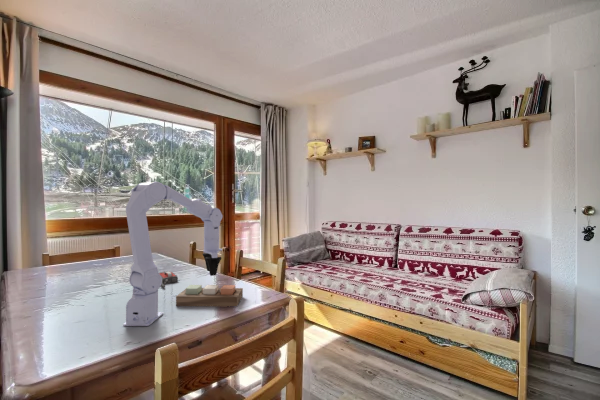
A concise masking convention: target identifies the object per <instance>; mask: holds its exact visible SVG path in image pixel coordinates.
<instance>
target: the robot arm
mask: <svg viewBox="0 0 600 400" xmlns="http://www.w3.org/2000/svg"><path fill="white" fill-rule="evenodd" d="M163 200H167V201H170V202H172V203H174V204H177V205H180V206H182V207H183V208H186V211H187V213H188V214H192V216H195V217H197V218H200V219H201V221H202V222H203V253H202V256H203V259H204V262H205V267H206V270H207V271H206V272H209V276H210V277H212V276H217V272H218V269H219V266H220V262H221V260H222V257H221V256H218V254H219V252H223V248H220V226H221V221H222V219H223V214H222V211H221V210H220V208H218V207H212V204H207V203H205V202H204V201H203V200H202V199H201V198H193V199H191V198H189V197H188V196H186V195H184V194H183V193H180V192H179V191H177V190H176V189H173V188H172V187H170V186H169V185H167V184H163V183H162V182H159V181H152V182H140V183H138V184H136V186H134V187H133V188H132V189H131V193H130V196H129V200H128V202H127V203H126V206H125V213H126V215H125V216H126V220H127V226H128V227H127V228H128V234H129V241H130V247H131V248H130V249H131V253H132V260H133V264H132V265H131V267H130V275H129V284H130V286H131V287H132V295H131V297H130V299H128V301H127V302H126V304H125V305H126V306H125V322H124V323H123V324H122V326H123V327H124V326H125V327H127V326H129V327H132V326H133V327H149V326H150V325H152V324H153V323H154V322H156V321H157V320H158V319H159V318H160V317H161V316H163V314H164V312H163V311H159V289H160V287H162V286H161V284H162V277H161V275H160V274H159V273H160V272H159V270H158V266H157V265H156V263H155V262H154V260H153V252H152V247H151V246H152V245H151V239H150V232H149V226H148V225H149V224H148V218H147V212H148V211H149V210H150V209H151V208H152V207H153V206H155V205H157V204H158V203H160V202H161V201H163Z"/></svg>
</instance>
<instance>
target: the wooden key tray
mask: <svg viewBox="0 0 600 400" xmlns="http://www.w3.org/2000/svg"><path fill="white" fill-rule="evenodd" d="M203 288H204V287H202V291H201V292H200V293H199V294H186V288H184V290H182V291H181V292H180V293H179V294H177V295H176V296H175V306H176V307H224V308H225V307H227V306H229V307H230V306H237V305H238V306H239V304H240V303H241V301H240V300H242V299H243V296H244V293H243V292H244V290H243V288H241V287H235V292H234V293H233V295H221V288H222V287H218V292H217V293H216V294H215V295H205V294H203ZM241 298H242V299H241ZM238 306H237V307H238Z"/></svg>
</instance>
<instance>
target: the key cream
mask: <svg viewBox="0 0 600 400" xmlns="http://www.w3.org/2000/svg"><path fill="white" fill-rule="evenodd" d="M202 288H203V294H205V295H215V294H216V293H217V292H218V288H219V285H218V284H207V285H205V286H204V287H202Z"/></svg>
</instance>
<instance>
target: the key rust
mask: <svg viewBox="0 0 600 400" xmlns="http://www.w3.org/2000/svg"><path fill="white" fill-rule="evenodd" d="M220 288H221V295H233V293H234V292H235V288H236V285H235V284H229V285H228V284H224V285H223V286H221V287H220Z"/></svg>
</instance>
